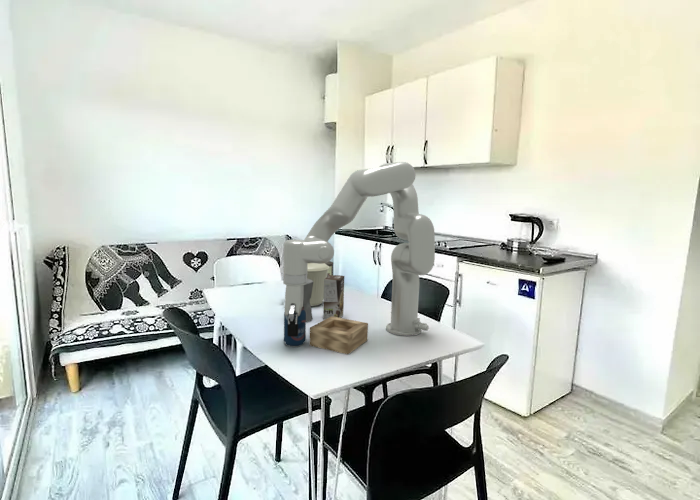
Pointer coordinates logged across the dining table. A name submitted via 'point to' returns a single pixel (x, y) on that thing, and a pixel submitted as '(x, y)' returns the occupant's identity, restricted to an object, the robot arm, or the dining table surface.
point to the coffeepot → (308, 299)
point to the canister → (317, 281)
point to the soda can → (301, 330)
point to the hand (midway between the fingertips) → (294, 330)
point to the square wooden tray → (339, 334)
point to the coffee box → (333, 296)
